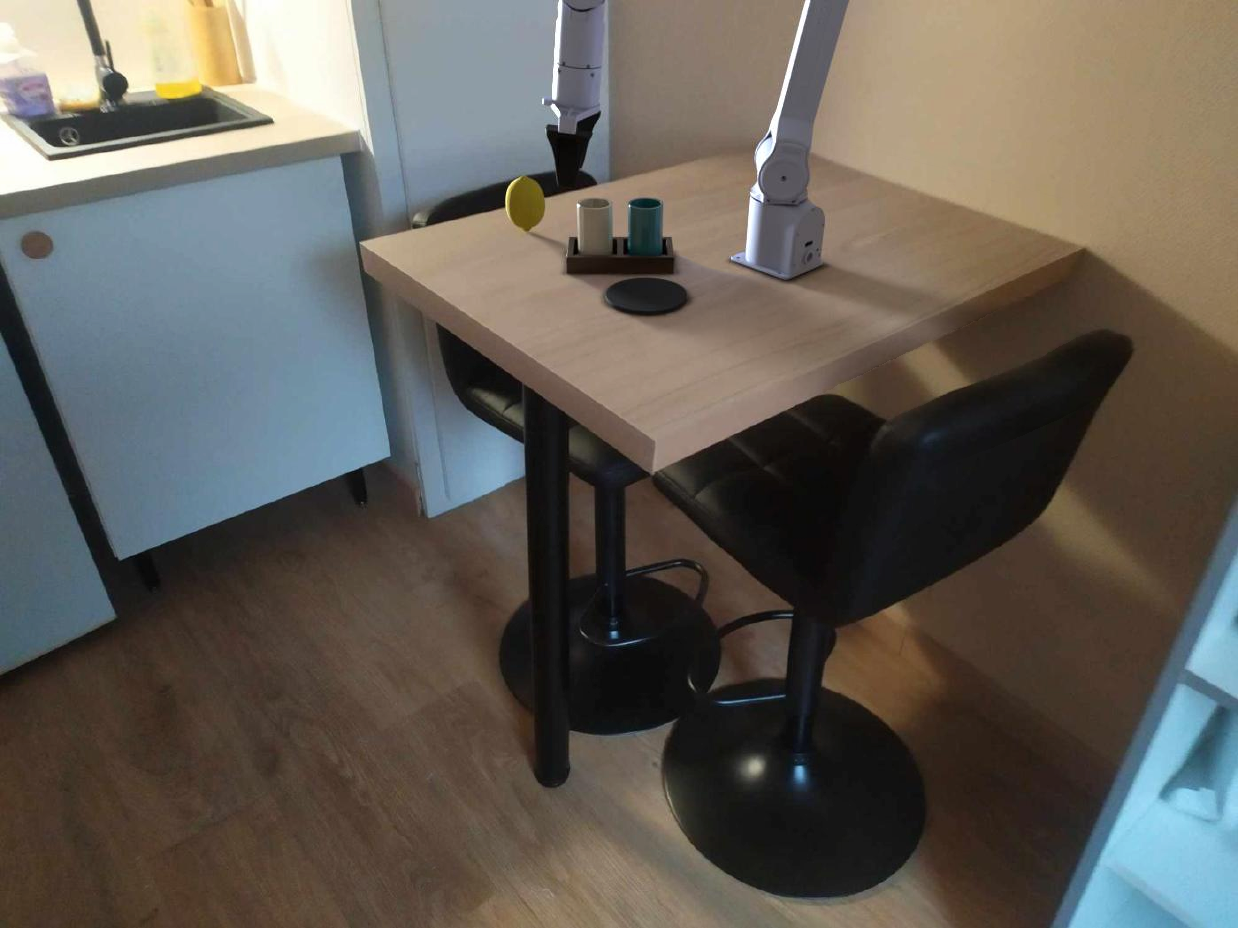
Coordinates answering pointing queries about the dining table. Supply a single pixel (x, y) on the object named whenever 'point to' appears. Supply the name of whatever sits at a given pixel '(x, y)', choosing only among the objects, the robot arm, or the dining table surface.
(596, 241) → the cream cup
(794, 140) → the robot arm
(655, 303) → the coaster
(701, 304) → the dining table surface
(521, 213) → the lemon
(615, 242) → the holder
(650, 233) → the teal cup
